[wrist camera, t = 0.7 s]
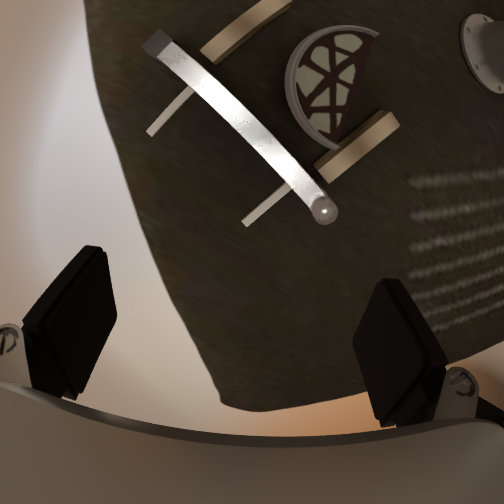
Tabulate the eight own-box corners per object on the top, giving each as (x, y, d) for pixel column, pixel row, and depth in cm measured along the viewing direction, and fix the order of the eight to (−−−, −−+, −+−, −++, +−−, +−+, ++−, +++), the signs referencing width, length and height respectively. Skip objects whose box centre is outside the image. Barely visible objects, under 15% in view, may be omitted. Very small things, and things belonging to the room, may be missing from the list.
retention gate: (177, 41, 25) (155, 25, 18) (324, 189, 34) (342, 213, 27) (162, 56, 26) (136, 45, 19) (309, 201, 34) (323, 229, 28)
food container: (295, 26, 24) (311, -1, 16) (346, 46, 25) (381, 28, 17) (263, 121, 30) (267, 129, 22) (314, 138, 31) (338, 153, 22)
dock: (276, -3, 22) (278, -12, 20) (389, 123, 30) (400, 125, 27) (204, 54, 26) (199, 50, 24) (322, 176, 33) (328, 183, 31)
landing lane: (194, 81, 28) (193, 80, 27) (296, 183, 34) (296, 184, 33) (147, 131, 30) (145, 131, 30) (247, 225, 36) (246, 226, 36)
